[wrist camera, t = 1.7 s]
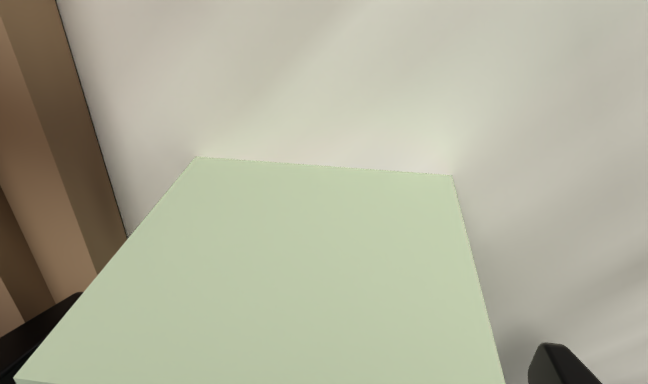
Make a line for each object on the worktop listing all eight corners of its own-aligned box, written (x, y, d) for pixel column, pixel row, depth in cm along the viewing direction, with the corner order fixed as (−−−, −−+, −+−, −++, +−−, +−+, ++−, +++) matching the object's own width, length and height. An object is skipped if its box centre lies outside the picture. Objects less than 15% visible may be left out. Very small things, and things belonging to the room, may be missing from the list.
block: (411, 368, 11) (425, 631, 7) (229, 346, 12) (141, 581, 8) (451, 173, 8) (521, 445, 4) (197, 154, 8) (13, 378, 4)
